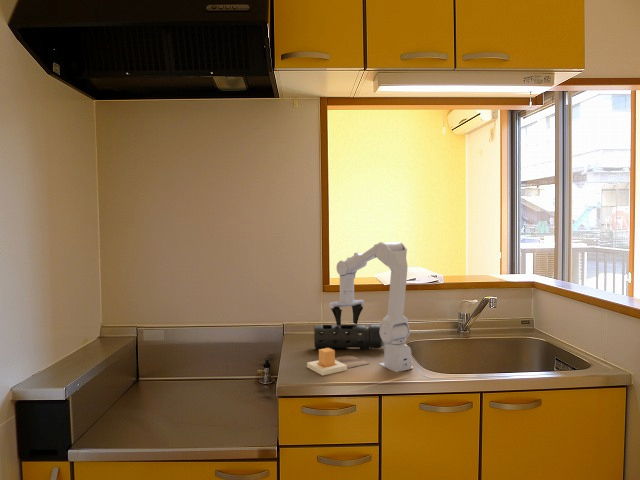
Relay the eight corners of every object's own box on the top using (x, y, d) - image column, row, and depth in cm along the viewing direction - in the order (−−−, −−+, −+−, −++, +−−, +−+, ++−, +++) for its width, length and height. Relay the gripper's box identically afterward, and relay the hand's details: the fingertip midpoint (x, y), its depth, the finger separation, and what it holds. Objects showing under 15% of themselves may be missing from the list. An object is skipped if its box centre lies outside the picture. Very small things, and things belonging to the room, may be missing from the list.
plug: (334, 369, 157) (334, 350, 157) (325, 371, 155) (324, 352, 155) (328, 365, 160) (328, 347, 160) (318, 367, 158) (318, 349, 158)
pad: (369, 365, 162) (369, 363, 162) (348, 369, 158) (348, 367, 158) (349, 356, 173) (349, 354, 173) (330, 360, 168) (330, 358, 168)
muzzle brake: (314, 342, 188) (314, 319, 185) (382, 342, 187) (383, 319, 184) (314, 354, 179) (314, 331, 176) (385, 354, 178) (386, 331, 175)
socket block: (346, 371, 156) (346, 365, 156) (322, 376, 151) (322, 370, 151) (331, 363, 165) (331, 357, 164) (307, 368, 159) (307, 362, 159)
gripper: (358, 287, 187) (358, 320, 188) (326, 290, 181) (326, 324, 182) (366, 290, 181) (366, 324, 181) (333, 293, 175) (333, 328, 176)
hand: (346, 324), depth 181 cm, fingers open, 7 cm apart
